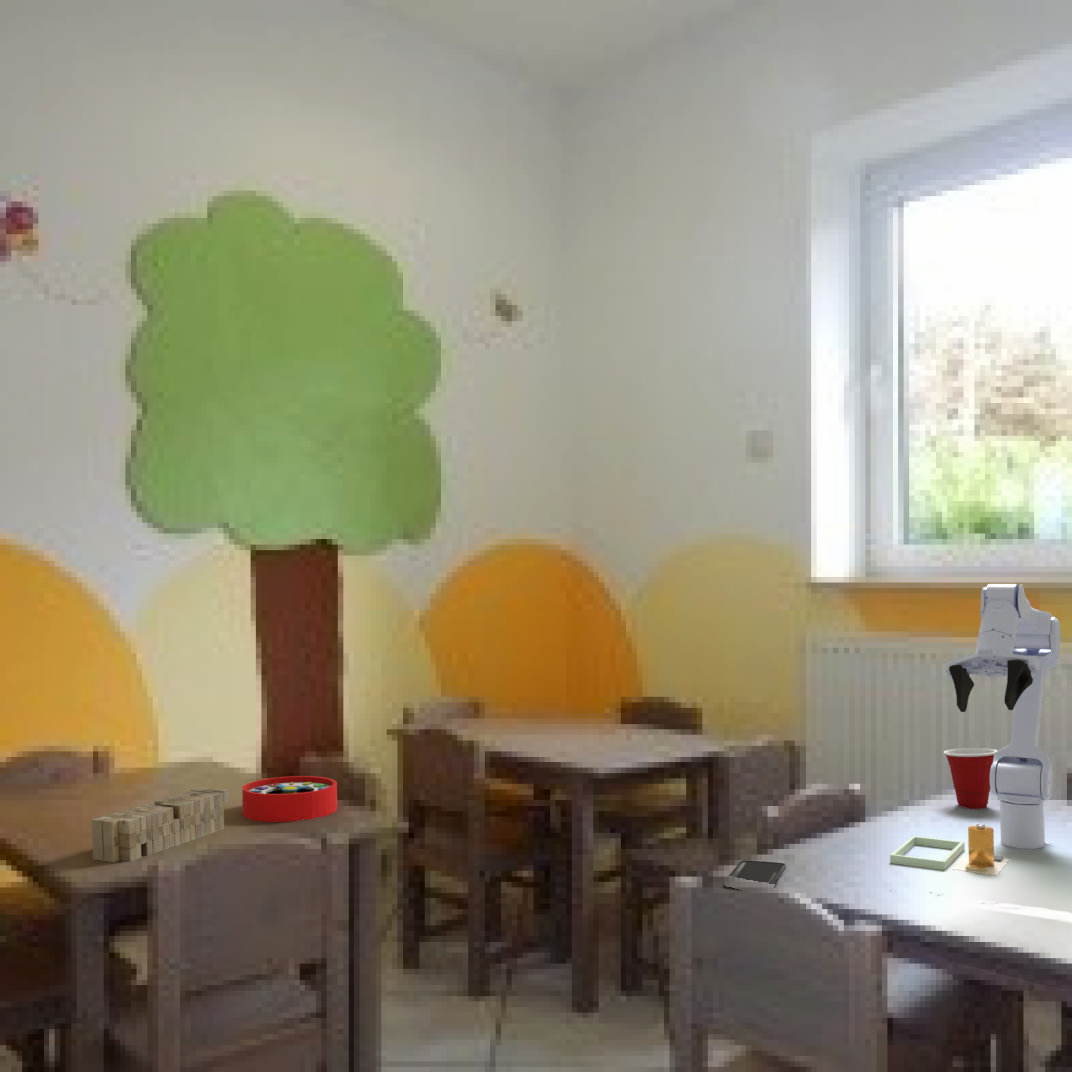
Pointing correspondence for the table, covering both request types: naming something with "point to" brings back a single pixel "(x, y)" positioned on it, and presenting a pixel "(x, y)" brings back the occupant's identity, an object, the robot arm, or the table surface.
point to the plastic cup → (971, 775)
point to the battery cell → (981, 845)
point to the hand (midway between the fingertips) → (984, 707)
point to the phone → (759, 871)
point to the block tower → (158, 825)
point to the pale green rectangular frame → (923, 862)
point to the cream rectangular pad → (994, 870)
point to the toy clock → (289, 798)
